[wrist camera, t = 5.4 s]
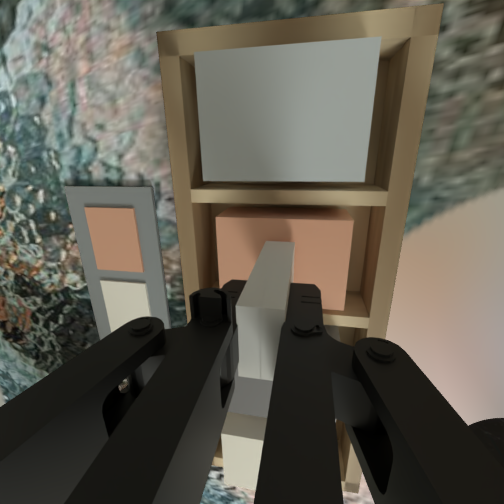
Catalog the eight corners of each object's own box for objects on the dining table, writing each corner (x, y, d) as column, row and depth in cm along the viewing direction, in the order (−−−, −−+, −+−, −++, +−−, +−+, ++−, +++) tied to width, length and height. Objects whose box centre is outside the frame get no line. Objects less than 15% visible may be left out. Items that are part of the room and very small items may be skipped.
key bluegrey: (222, 175, 16) (203, 181, 13) (216, 71, 14) (193, 52, 11) (353, 175, 14) (364, 181, 12) (365, 61, 13) (381, 36, 10)
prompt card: (103, 341, 26) (99, 344, 25) (67, 185, 21) (61, 186, 21) (174, 349, 25) (171, 353, 24) (152, 186, 20) (149, 187, 19)
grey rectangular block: (231, 375, 20) (219, 410, 18) (228, 315, 19) (214, 344, 16) (331, 388, 19) (335, 428, 16) (337, 325, 17) (343, 358, 15)
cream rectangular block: (234, 443, 23) (224, 484, 20) (232, 396, 21) (221, 433, 18) (323, 459, 21) (326, 505, 19) (329, 410, 20) (332, 452, 17)
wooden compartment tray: (217, 419, 26) (202, 463, 23) (190, 58, 17) (156, 31, 13) (350, 441, 24) (358, 493, 21) (409, 40, 14) (443, 3, 11)
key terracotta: (233, 278, 19) (220, 300, 17) (230, 206, 18) (215, 216, 15) (338, 286, 18) (343, 310, 15) (346, 208, 16) (353, 221, 14)
